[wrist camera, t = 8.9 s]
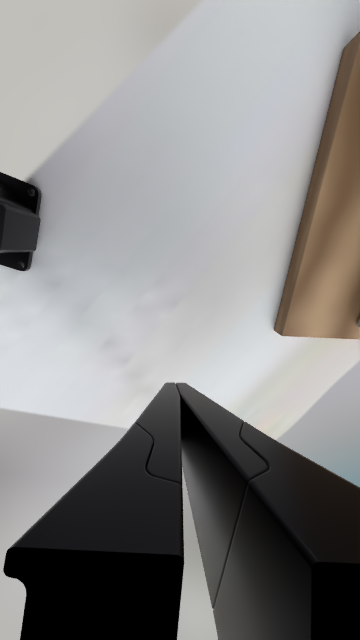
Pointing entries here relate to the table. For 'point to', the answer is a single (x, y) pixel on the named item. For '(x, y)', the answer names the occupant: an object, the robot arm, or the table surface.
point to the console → (330, 224)
